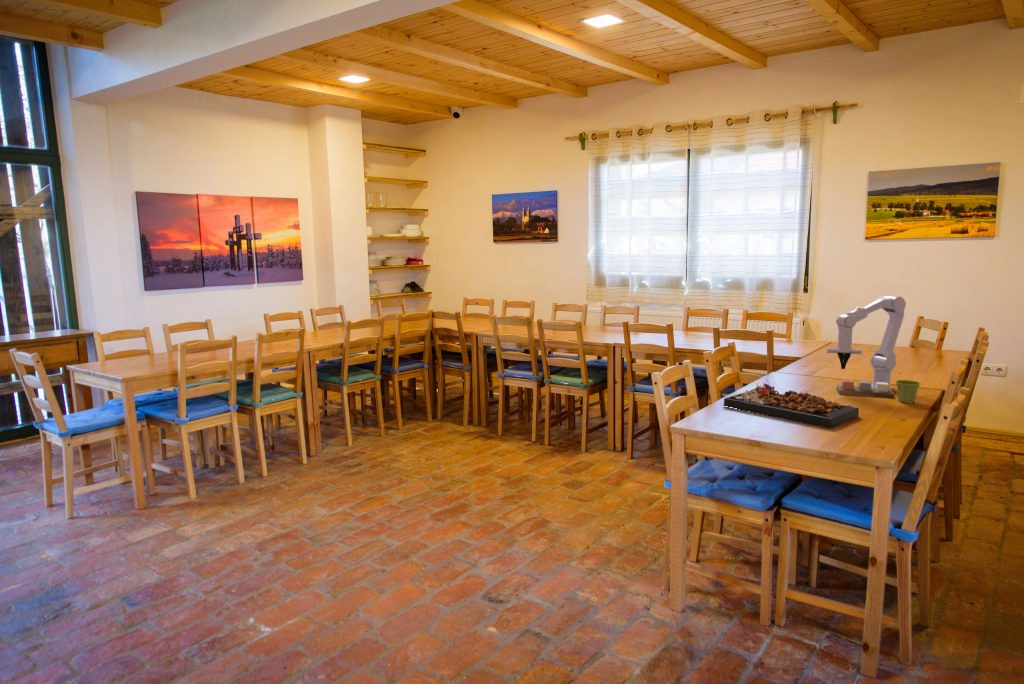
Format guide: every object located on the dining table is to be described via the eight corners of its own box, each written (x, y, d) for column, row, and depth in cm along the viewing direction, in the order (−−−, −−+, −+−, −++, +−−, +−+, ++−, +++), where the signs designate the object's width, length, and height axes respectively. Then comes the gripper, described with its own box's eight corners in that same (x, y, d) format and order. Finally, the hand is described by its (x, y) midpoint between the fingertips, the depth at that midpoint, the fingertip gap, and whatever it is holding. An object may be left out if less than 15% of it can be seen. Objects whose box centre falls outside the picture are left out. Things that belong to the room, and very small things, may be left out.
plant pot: (922, 404, 273) (924, 384, 271) (898, 403, 274) (900, 384, 273) (913, 399, 282) (915, 380, 280) (890, 398, 284) (891, 379, 282)
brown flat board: (836, 389, 303) (836, 385, 303) (889, 392, 295) (889, 388, 294) (838, 394, 293) (839, 390, 293) (893, 398, 285) (893, 393, 284)
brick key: (841, 387, 299) (841, 379, 299) (852, 387, 297) (852, 380, 297) (842, 389, 295) (842, 381, 294) (853, 389, 293) (854, 382, 293)
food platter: (723, 408, 273) (724, 384, 272) (753, 399, 289) (754, 376, 287) (830, 430, 239) (832, 403, 237) (858, 418, 255) (860, 393, 253)
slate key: (858, 388, 296) (858, 380, 296) (869, 388, 295) (870, 381, 294) (859, 390, 292) (860, 382, 292) (870, 390, 291) (871, 383, 290)
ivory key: (875, 389, 294) (875, 381, 293) (886, 390, 292) (887, 382, 292) (876, 391, 290) (877, 383, 289) (888, 392, 288) (888, 384, 287)
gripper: (828, 340, 296) (826, 369, 298) (863, 342, 291) (861, 371, 293) (827, 338, 303) (825, 366, 305) (861, 339, 297) (859, 368, 299)
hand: (843, 368), depth 299 cm, fingers closed
